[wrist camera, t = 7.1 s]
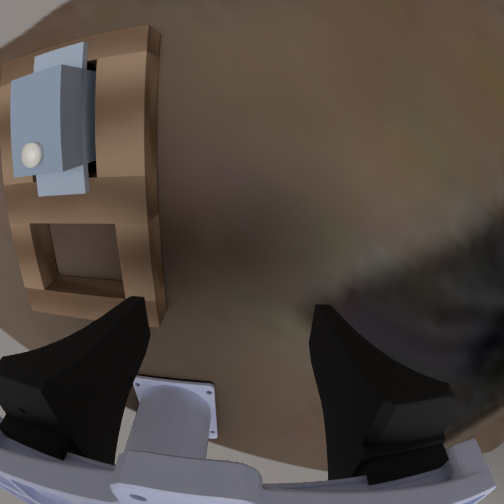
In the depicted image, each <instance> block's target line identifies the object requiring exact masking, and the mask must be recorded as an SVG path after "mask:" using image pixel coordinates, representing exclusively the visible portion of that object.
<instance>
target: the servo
mask: <svg viewBox="0 0 504 504" xmlns="http://www.w3.org/2000/svg"><path fill="white" fill-rule="evenodd" d="M87 55H88V43H86V42H80V43H77V44H73V45H70V46H66V47H63V48H60V49H56V50H53V51H50V52H47V53H44V54H41V55H38V56H36V57H35V59H34V73H32V74H29V75H26V76H23V77H21V78H18V79H15V80H13V81H11V98H10V123H11V147H12V160H13V171H14V178H17V177H24V176H32V175H36V180H37V189H38V196H39V197H41V196H55V195H70V194H86V193H88V192H90V186H89V174H88V163H90V162H93V161H96V145H95V89H96V71H91V70H87Z"/></svg>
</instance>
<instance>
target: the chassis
mask: <svg viewBox="0 0 504 504" xmlns="http://www.w3.org/2000/svg"><path fill="white" fill-rule="evenodd" d="M160 37H161V34H159V33H158V32H157V31H156V30H155V29H153V28H152V27H151V26H150V25H143V26H137V27H130V28H125V29H119V30H114V31H109V32H104V33H100V34H95V35H91V36H87V37H83V38H79V39H75V40H72V41H68V42H65V43H61V44H58V45H55V46H52V47H48V48H45V49H42V50H39V51H37V52H34V53H31V54H28V55H26V56H23V57H20V58H18V59H15V60H13V61H10V62H8V63H5V64H3V65H2V73H1V88H0V144H1V160H2V172H3V181H4V189H5V197H6V204H7V210H8V216H9V222H10V227H11V232H12V237H13V242H14V246H15V251H16V255H17V259H18V263H19V267H20V271H21V275H22V278H23V282H24V285H25V289H26V292H27V295H28V298H29V302H30V305H31V308H32V310H33V311H39V312H45V313H50V314H56V315H63V316H69V317H76V318H83V319H90V320H97V319H98V318H100V317H101V316H103V315H104V314H106V313H107V312H108V311H110V310H111V309H113V308H114V307H115V306H117V305H118V304H120V303H121V302H122V301H124V300H125V299H127V298H128V297H130V296H140V297H144V298H145V305H146V311H147V317H148V323H149V327H160V325H161V322H162V320H163V318H164V315H165V313H166V310H167V302H166V293H165V284H164V274H163V263H162V251H161V237H160V222H159V204H158V178H157V93H158V68H159V51H160ZM80 42H86V43H88V55H87V69H91V68H96V67H97V68H96V89H95V145H96V167H97V171H95V172H88V174H89V186H90V192H88V193H86V194H70V195H55V196H41V197H39V196H38V189H37V180H36V175H32V176H24V177H17V178H14V171H13V160H12V147H11V123H10V98H11V81H13V80H15V79H18V78H21V77H23V76H26V75H29V74H32V73H34V59H35V57H36V56H38V55H41V54H44V53H47V52H50V51H53V50H56V49H60V48H63V47H66V46H70V45H73V44H77V43H80ZM49 223H93V224H115V228H116V237H117V245H118V253H119V260H120V267H121V273H122V280H123V281H120V280H107V279H94V278H82V277H71V276H60V275H59V273H58V269H57V264H56V260H55V255H54V250H53V245H52V240H51V234H50V228H49Z"/></svg>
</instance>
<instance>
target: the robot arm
mask: <svg viewBox="0 0 504 504" xmlns="http://www.w3.org/2000/svg"><path fill="white" fill-rule="evenodd" d="M150 335H151V334H150V329H149V323H148V317H147V311H146V305H145V298H144V297H140V296H130V297H128V298H127V299H125V300H124V301H122V302H121V303H120V304H118V305H117V306H115V307H114V308H113V309H111V310H110V311H108V312H107V313H106V314H104V315H103V316H101V317H100V318H98V319H97V320H95V321H94V322H92V323H91V324H89V325H87V326H86V327H84V328H83V329H81V330H79V331H77V332H76V333H74V334H72V335H70V336H68V337H66V338H64V339H61V340H59V341H57V342H54V343H52V344H49V345H47V346H44V347H41V348H38V349H35V350H32V351H28V352H24V353H20V354H15V355H10V356H3V357H2V358H1V360H0V405H1V407H2V408H3V410H4V411H5V413H6V415H5V417H4V419H2V418H1V417H0V488H2V489H4V490H5V491H7V492H9V493H10V494H12V495H14V496H15V497H17V498H19V499H21V500H23V501H24V502H26V503H28V504H476V503H477V502H478V501H480V500H481V499H482V498H484V497H485V496H486V495H487V494H489V493H490V492H491V491H492V490H494V489H495V488H496V484H495V481H494V479H493V476H492V474H491V472H490V470H489V467H488V465H487V463H486V461H485V459H484V457H483V454H482V452H481V450H480V448H479V446H478V444H477V442H476V440H475V439H470V440H467V441H464V442H461V443H458V444H455V445H453V446H451V447H449V448H447V449H446V450H445V448H444V446H443V443H444V442H445V441H446V438H445V436H444V434H443V432H444V431H445V429H446V428H447V426H448V425H449V424H450V422H451V421H452V420H453V418H454V417H455V415H456V413H457V411H458V408H459V402H458V399H457V397H456V395H455V394H454V392H453V390H452V388H451V387H450V385H449V383H446V382H442V381H439V380H436V379H433V378H430V377H428V376H425V375H423V374H420V373H418V372H416V371H414V370H412V369H410V368H408V367H406V366H404V365H402V364H400V363H398V362H397V361H395V360H393V359H392V358H390V357H388V356H387V355H386V354H384V353H383V352H381V351H380V350H378V349H377V348H376V347H374V346H373V345H372V344H371V343H369V342H368V341H367V340H366V339H365V338H363V337H362V336H361V335H360V334H359V333H358V332H357V331H356V330H355V329H354V328H353V327H351V326H350V325H349V324H348V323H347V322H346V321H345V320H344V319H343V317H342V316H341V315H340V314H339V313H338V312H337V311H336V310H335V309H334V308H333V307H332V306H331V305H316V306H315V311H314V317H313V323H312V329H311V334H310V340H309V347H310V356H311V363H312V368H313V372H314V376H315V379H316V383H317V387H318V391H319V395H320V399H321V403H322V408H323V414H324V423H325V432H326V444H327V459H328V480H327V481H317V482H304V483H280V484H262V476H261V475H260V473H259V471H258V470H256V469H255V468H253V467H250V466H248V465H246V464H243V463H238V462H231V461H224V460H211V459H206V454H207V445H208V438H210V439H215V438H217V437H218V432H217V418H216V404H215V388H214V385H213V384H211V383H200V382H189V381H178V380H169V379H161V378H153V377H145V376H138V375H137V373H138V371H139V368H140V366H141V363H142V361H143V359H144V356H145V354H146V350H147V347H148V343H149V339H150ZM138 383H139V384H138ZM132 385H134V389H135V392H136V395H137V398H138V401H139V407H138V410H137V413H136V416H135V419H134V422H133V425H132V429H131V431H130V435H129V438H128V441H127V444H126V447H125V451H124V453H121V454H119V457H118V460H117V463H116V464H114V462H115V454H116V447H117V441H118V435H119V430H120V426H121V421H122V417H123V413H124V409H125V405H126V401H127V398H128V395H129V392H130V390H131V387H132ZM209 391H210V392H209Z"/></svg>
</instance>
